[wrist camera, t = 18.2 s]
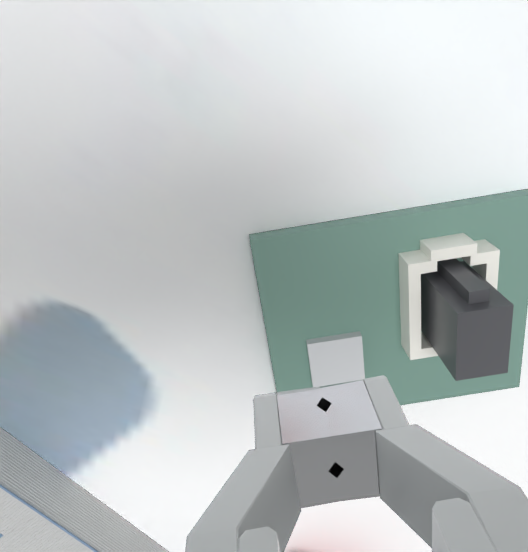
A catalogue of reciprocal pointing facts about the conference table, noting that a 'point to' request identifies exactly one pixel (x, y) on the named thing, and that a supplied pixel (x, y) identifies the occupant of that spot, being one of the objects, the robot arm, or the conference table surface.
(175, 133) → the conference table surface
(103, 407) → the conference table surface
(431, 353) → the board
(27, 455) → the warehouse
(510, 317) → the plug
